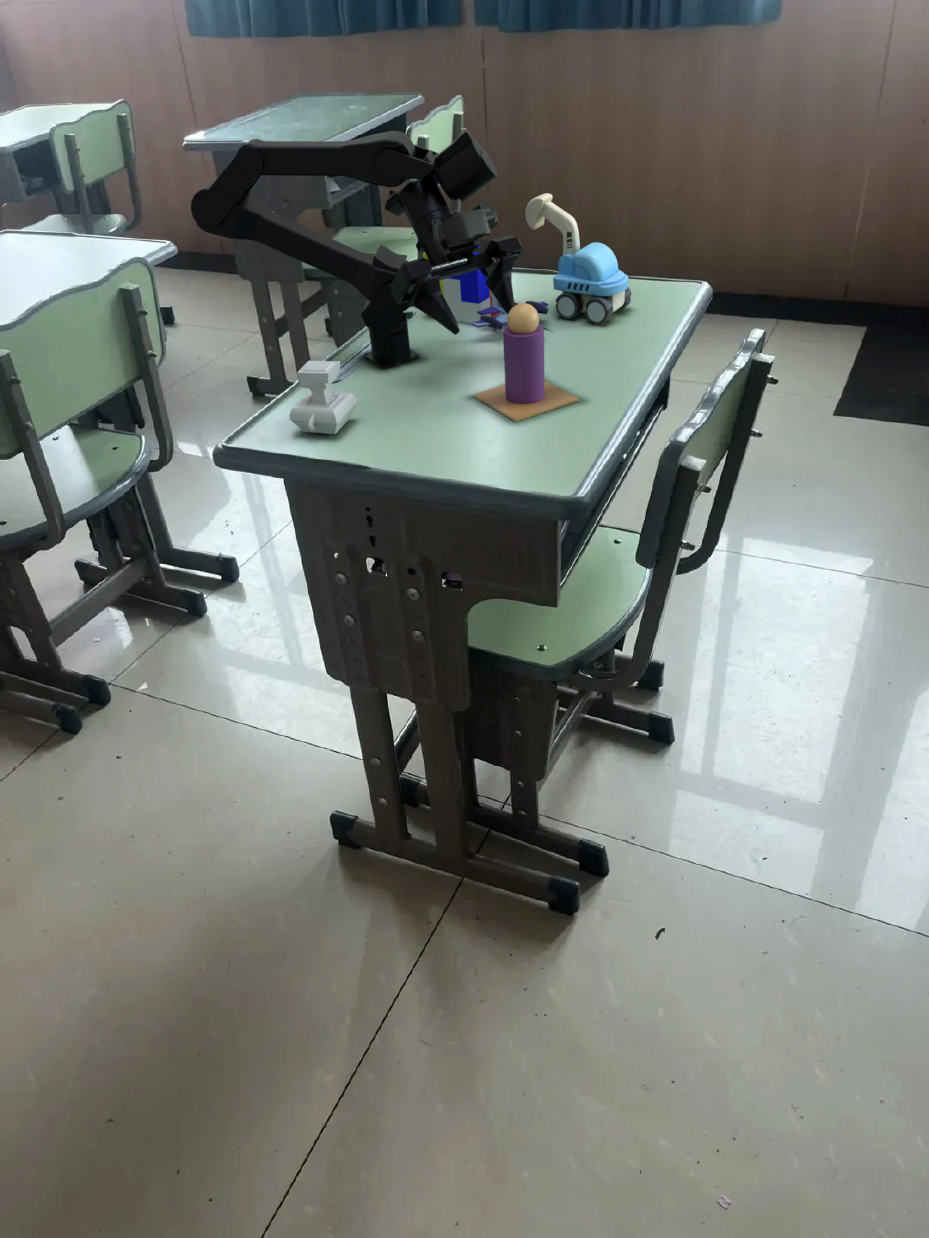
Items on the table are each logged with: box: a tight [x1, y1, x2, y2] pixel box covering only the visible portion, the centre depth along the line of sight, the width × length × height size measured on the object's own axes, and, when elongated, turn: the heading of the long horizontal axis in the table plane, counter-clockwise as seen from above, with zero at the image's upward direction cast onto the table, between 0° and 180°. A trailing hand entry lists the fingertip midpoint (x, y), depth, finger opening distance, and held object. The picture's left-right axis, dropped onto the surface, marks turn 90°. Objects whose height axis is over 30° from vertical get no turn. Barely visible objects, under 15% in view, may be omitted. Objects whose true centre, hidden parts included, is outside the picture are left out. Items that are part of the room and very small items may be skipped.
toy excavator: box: [525, 193, 632, 326], centre depth 143 cm, size 9×17×17 cm, turn 54°
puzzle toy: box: [422, 239, 501, 324], centre depth 148 cm, size 10×10×10 cm
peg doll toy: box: [502, 302, 546, 404], centre depth 118 cm, size 5×5×12 cm
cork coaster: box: [473, 380, 579, 423], centre depth 122 cm, size 10×10×1 cm
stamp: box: [289, 360, 359, 435], centre depth 116 cm, size 9×7×8 cm
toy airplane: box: [470, 293, 553, 333], centre depth 141 cm, size 13×14×4 cm
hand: (485, 324), depth 122 cm, fingers open, 9 cm apart
